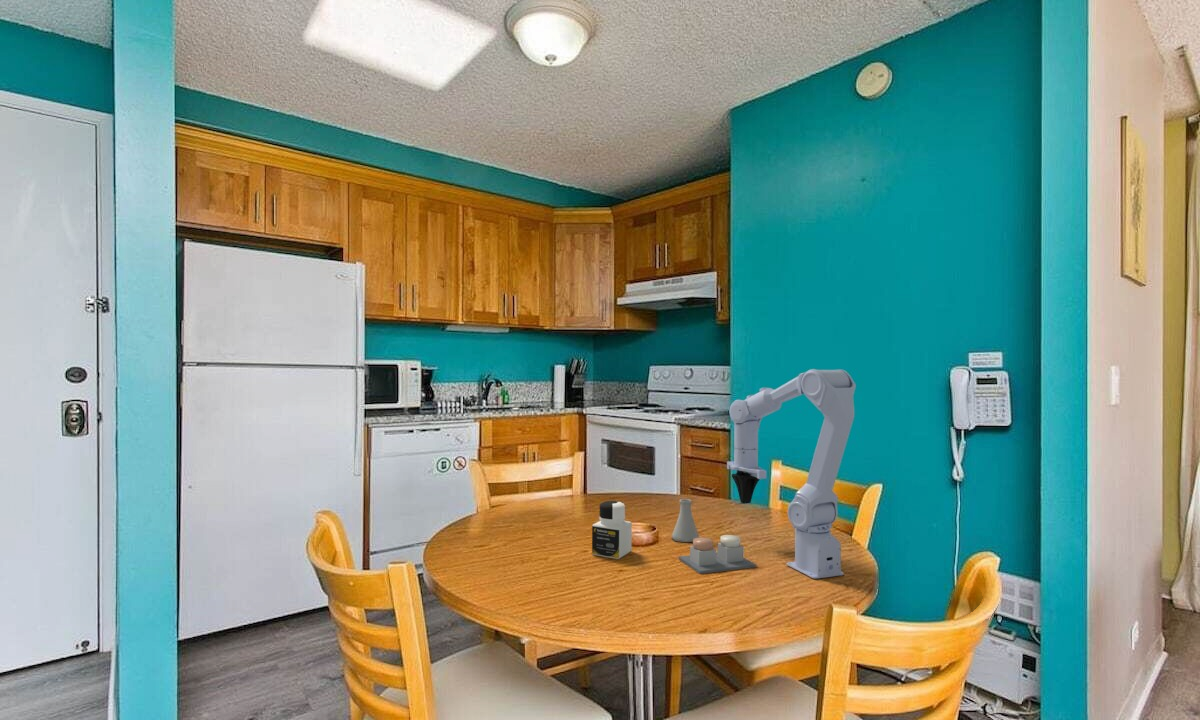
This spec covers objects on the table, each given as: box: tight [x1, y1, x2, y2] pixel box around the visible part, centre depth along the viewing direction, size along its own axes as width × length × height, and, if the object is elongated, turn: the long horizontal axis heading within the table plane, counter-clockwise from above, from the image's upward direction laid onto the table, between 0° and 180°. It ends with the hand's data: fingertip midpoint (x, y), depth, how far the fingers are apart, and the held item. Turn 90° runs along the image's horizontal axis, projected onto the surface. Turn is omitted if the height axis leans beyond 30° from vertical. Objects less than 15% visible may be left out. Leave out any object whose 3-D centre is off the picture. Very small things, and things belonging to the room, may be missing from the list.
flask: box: [670, 498, 700, 543], centre depth 152 cm, size 7×7×10 cm
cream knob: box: [719, 534, 741, 547], centre depth 135 cm, size 4×4×4 cm
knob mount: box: [678, 542, 757, 575], centre depth 134 cm, size 10×14×4 cm
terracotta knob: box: [692, 537, 714, 550], centre depth 133 cm, size 4×4×4 cm
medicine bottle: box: [591, 500, 633, 560], centre depth 140 cm, size 7×7×12 cm
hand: (745, 502), depth 148 cm, fingers closed
